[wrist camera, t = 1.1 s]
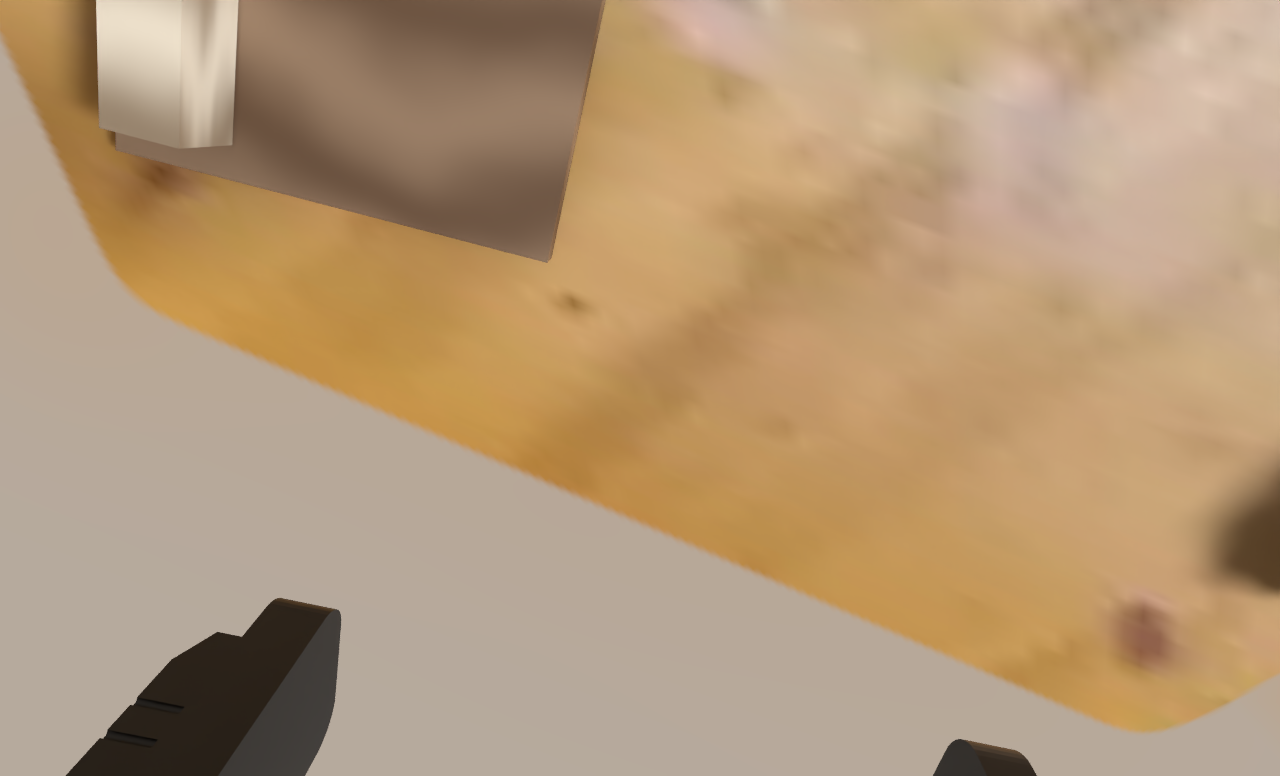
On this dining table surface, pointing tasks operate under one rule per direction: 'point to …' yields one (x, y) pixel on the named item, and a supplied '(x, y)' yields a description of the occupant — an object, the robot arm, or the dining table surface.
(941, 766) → the robot arm
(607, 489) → the dining table surface
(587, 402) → the dining table surface
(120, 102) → the folding leg
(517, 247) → the stool base plate
